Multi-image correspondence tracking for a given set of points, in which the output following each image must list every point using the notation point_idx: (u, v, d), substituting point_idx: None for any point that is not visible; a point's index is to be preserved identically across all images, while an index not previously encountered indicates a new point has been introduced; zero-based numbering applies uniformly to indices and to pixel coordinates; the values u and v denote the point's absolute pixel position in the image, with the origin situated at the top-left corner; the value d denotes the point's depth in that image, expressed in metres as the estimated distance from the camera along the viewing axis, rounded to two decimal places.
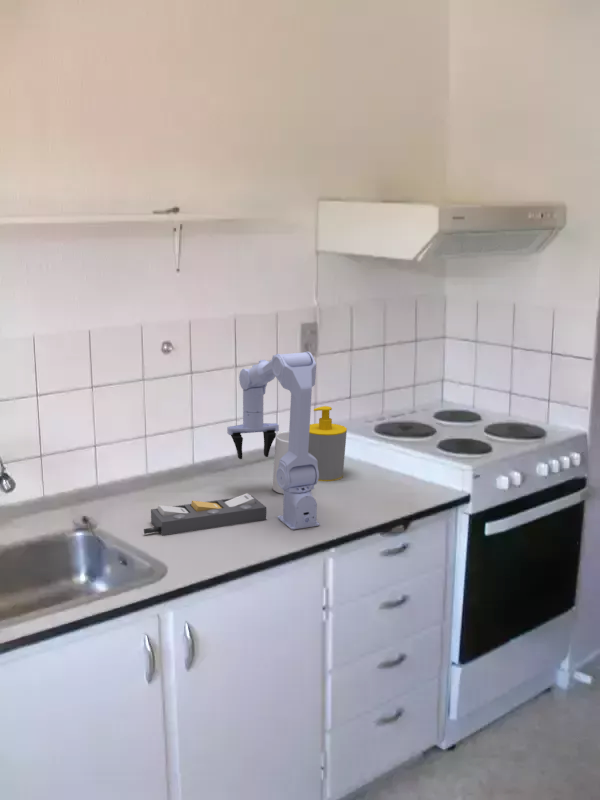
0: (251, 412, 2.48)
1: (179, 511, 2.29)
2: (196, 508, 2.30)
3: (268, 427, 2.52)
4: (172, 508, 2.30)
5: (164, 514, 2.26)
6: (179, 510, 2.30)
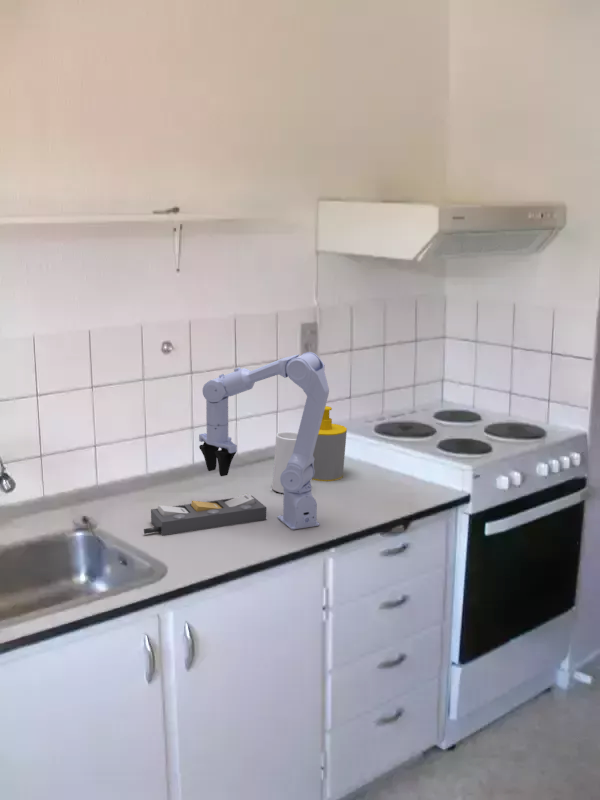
0: None
1: (179, 511, 2.29)
2: (196, 508, 2.30)
3: (220, 445, 2.32)
4: (172, 508, 2.30)
5: (164, 514, 2.26)
6: (179, 510, 2.30)
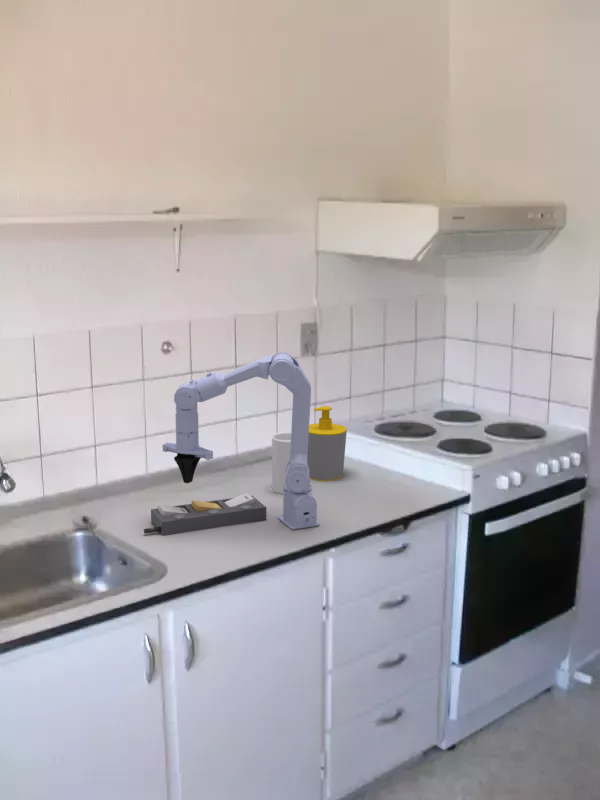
0: (177, 432, 2.26)
1: (179, 511, 2.29)
2: (196, 508, 2.30)
3: (195, 452, 2.25)
4: (172, 508, 2.30)
5: (164, 514, 2.26)
6: (179, 510, 2.30)
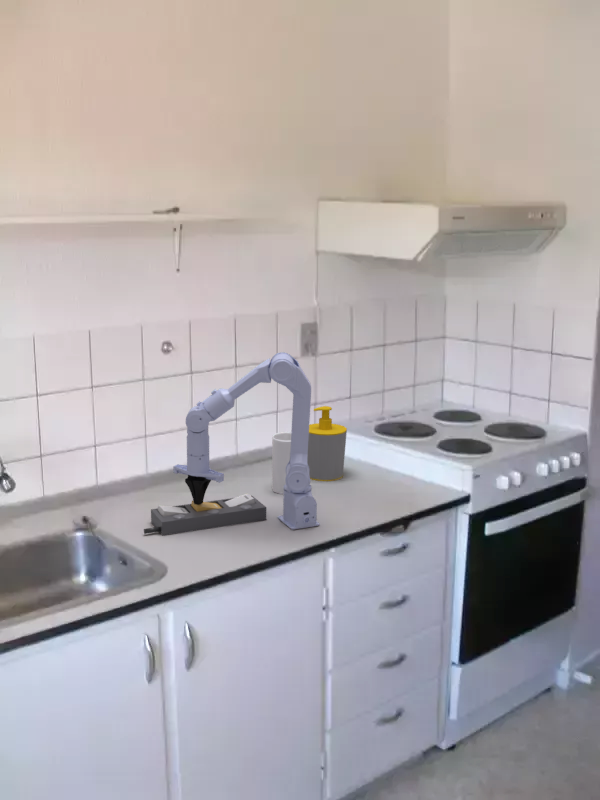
0: (188, 454, 2.27)
1: (179, 511, 2.29)
2: (196, 508, 2.30)
3: (206, 475, 2.27)
4: (172, 508, 2.30)
5: (164, 514, 2.26)
6: (179, 510, 2.30)
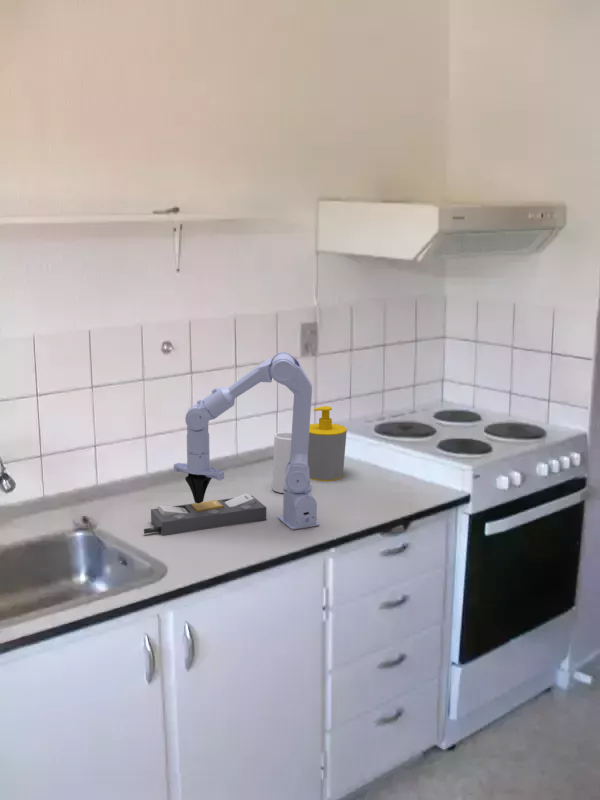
0: (188, 452, 2.27)
1: (179, 511, 2.29)
2: None
3: (207, 473, 2.27)
4: (172, 508, 2.30)
5: (164, 514, 2.26)
6: (179, 510, 2.30)
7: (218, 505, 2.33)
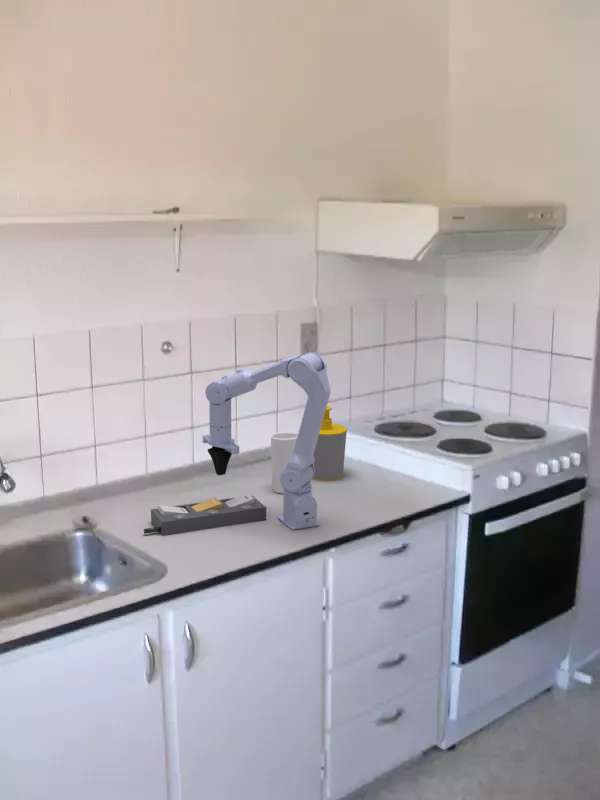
0: None
1: (179, 511, 2.29)
2: None
3: (223, 446, 2.33)
4: (172, 508, 2.30)
5: (164, 514, 2.26)
6: (179, 510, 2.30)
7: (217, 503, 2.32)
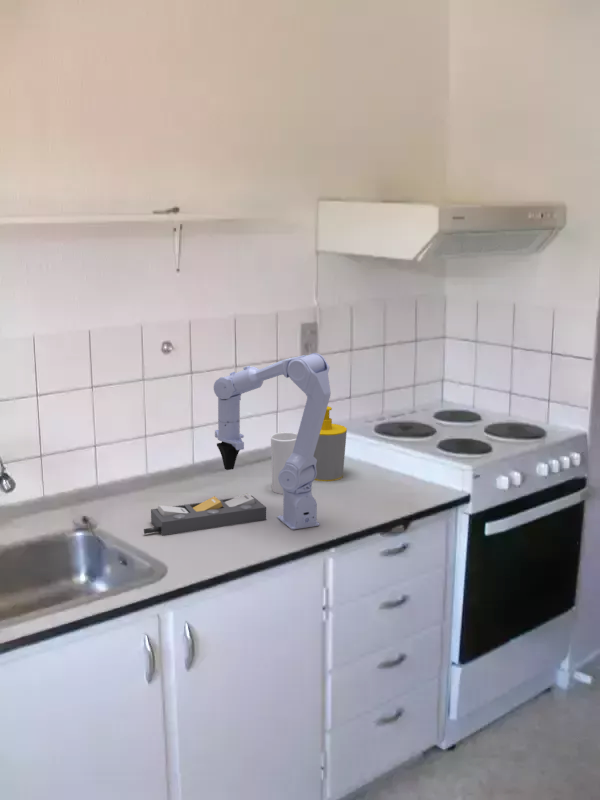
0: (218, 419, 2.39)
1: (179, 511, 2.29)
2: None
3: (229, 441, 2.36)
4: (172, 508, 2.30)
5: (164, 514, 2.26)
6: (179, 510, 2.30)
7: (217, 502, 2.32)
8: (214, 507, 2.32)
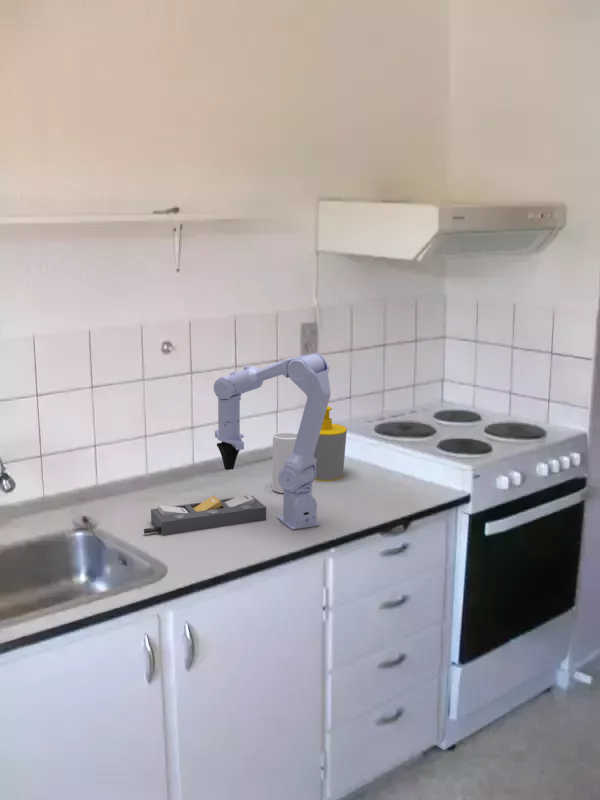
0: (218, 419, 2.39)
1: (179, 511, 2.29)
2: None
3: (229, 441, 2.36)
4: (172, 508, 2.30)
5: (164, 514, 2.26)
6: (179, 510, 2.30)
7: (216, 502, 2.32)
8: (214, 507, 2.32)
